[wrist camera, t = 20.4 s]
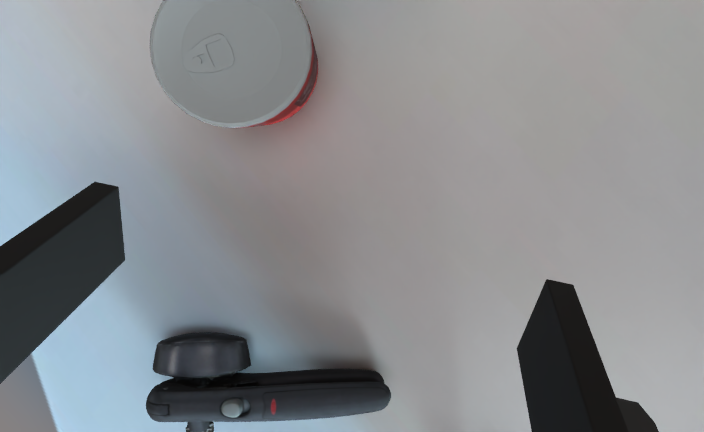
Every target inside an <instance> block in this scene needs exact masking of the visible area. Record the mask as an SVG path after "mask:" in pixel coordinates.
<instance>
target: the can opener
mask: <svg viewBox="0 0 704 432" xmlns="http://www.w3.org/2000/svg"><path fill="white" fill-rule="evenodd" d="M249 366H251V362H250V357H249V350H248V345H247V341H246V339H244V338H242V337H239V336H235V335H229V334H223V333H211V332H204V333H191V334H185V335H180V336H175V337H171V338H168V339H165V340H162V341H160V342H159V343H158V344H157V348H156V352H155V358H154V363H153V370H154V372H156V373H159V374H162V375H166V376H171V377H174V378H173V379H170V380H167V381H164V382H162V383H161V384H159V385H156V386H155V387H154V388H153V389H152V390H151V392H150V393H149V395H148V397H147V402H146V409H147V413H148V414H149V416H150V417H151V418H152V419H153V420H155V421H158V422H188V425H187V427H186V432H213V431H214V423H213V421H222V422H223V421H224V422H239V421H240V422H243V421H244V422H251V421H285V420H302V419H304V420H305V419H318V418H330V417H340V416H349V415H355V414H363V413H369V412H375V411H379V410H382V409H384V408H385V407H386V406H387V405H388V403H389V401H390V398H391V393H390V390H389V388H388V386H386V385H385V384H384V380H383V378H382V376H381V375H380V374H379V373H378V372H376V371H372V370H361V369H318V370H302V371H288V372H274V373H253V374H250V373H236V372H237V371H242V370H243V369H246V368H248V367H249Z"/></svg>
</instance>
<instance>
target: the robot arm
mask: <svg viewBox="0 0 704 432" xmlns="http://www.w3.org/2000/svg"><path fill="white" fill-rule="evenodd" d="M124 261H125V253H124V242H123V231H122V221H121V210H120V199H119V188H118V187H117V186H112V185H107V184H103V183H98V182H94V183H92V184H91V185H89V186H88V187H87V188H85V189H84V190H82V191H81V192H79V193H78V194H76V195H75V196H73V197H72V198H70V199H69V200H67V201H66V202H65V203H63V204H62V205H60V206H59V207H57V208H56V209H54V210H53V211H51V212H50V213H48V214H47V215H46V216H44V217H43V218H41V219H40V220H38V221H37V222H35V223H34V224H32V225H31V226H29V227H28V228H26V229H25V230H24V231H22V232H21V233H19V234H18V235H16V236H15V237H13V238H12V239H10V240H9V241H7V242H6V243H5V244H3V245H2V246H0V384H1V383H2V382H3V381H4V380H5V379H6V377H7V376H9V375H10V374H11V373H12V372H13V371H14V370H15V369H16V368H17V367H18V366H19V365H20V364H21V363H22V362H23V361H24V360H25V359H26V358H27V357H28V356H29V355H30V354H31V353H32V352H33V351H34V350H35V349H36V348H37V347H38V346H39V345H40V344H41V343H42V342H43V341H44V340H45V339H46V338H47V337H48V336H49V335H50V334H51V333H52V332H53V331H54V330H55V329H56V328H57V327H58V326H59V325H60V324H61V323H62V322H63V321H64V320H65V319H66V318H67V317H68V316H69V315H70V314H71V313H72V312H73V311H74V310H75V309H76V308H77V307H78V306H79V305H80V304H81V303H82V302H83V301H84V300H85V299H86V298H87V297H88V296H89V295H90V294H91V293H92V292H93V291H94V290H95V289H96V288H97V287H98V286H99V285H100V284H101V283H102V282H103V281H104V280H105V279H106V278H107V277H108V276H109V275H110V274H111V273H112V272H113V271H114V270H115V269H116V268H117V267H118V266H119V265H120V264H121V263H122V262H124ZM517 351H518V357H519V363H520V368H521V374H522V379H523V385H524V390H525V396H526V401H527V407H528V413H529V418H530V424H531V429H532V432H659V431H658V429H657V427H656V425H655V423H654V421H653V420H652V419H651V418H650V417H649V415H648V414H647V413H646V412H645V411H644V409H643V408H642V407H641V406H640V405H639V403H637V402H633V401H628V400H624V399H620V398H616V397H615V394H614V392H613V389H612V386H611V384H610V381H609V378H608V376H607V373H606V371H605V368H604V365H603V363H602V360H601V357H600V355H599V352H598V349H597V347H596V344H595V341H594V339H593V336H592V333H591V331H590V328H589V326H588V323H587V320H586V318H585V315H584V312H583V310H582V307H581V304H580V302H579V299H578V296H577V294H576V291H575V289H574V286H573V285H571V284H567V283H562V282H557V281H553V280H548V279H546V282H545V284H544V286H543V289H542V291H541V293H540V296H539V298H538V300H537V303H536V305H535V307H534V310H533V312H532V314H531V317H530V319H529V321H528V324H527V326H526V328H525V331H524V333H523V335H522V338H521V340H520V342H519V345H518V347H517Z"/></svg>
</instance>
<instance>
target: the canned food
mask: <svg viewBox="0 0 704 432" xmlns="http://www.w3.org/2000/svg"><path fill="white" fill-rule="evenodd" d="M150 53H151V61H152V65H153V68H154V71H155V74H156V77H157V79H158V81H159V83H160V85H161V86H162V88H163V90H164V92H165V93H166V94H167V95H168V96H169V98H170V99H171V100H172V101H173V102H174V104H176V105H177V106H178V107H179V108H181V109H182V110H183V111H184V112H186V113H187V114H189V115H191V116H193V117H194V118H196V119H198V120H200V121H202V122H205V123H208V124H212V125H215V126H219V127H228V128H243V127H254V126H262V125H270V124H274V123H277V122H281V121H283V120H285V119H287V118H289V117H291V116H292V115H294V114H295V113H296V112H298V111H299V110H300V109H301V108H302V107H303V106H304V105H305V103H306V102H307V101H308V99H309V98H310V96H311V94H312V92H313V90H314V87H315V84H316V81H317V74H318V60H317V55H316V51H315V47H314V43H313V39H312V35H311V32H310V28H309V24H308V22H307V20H306V18H305V16H304V14H303V11H302V9H301V7H300V6H299V5H298V3H297V2H296V1H295V0H163V2H162V3H161V5H160V7H159V9H158V11H157V13H156V15H155V18H154V22H153V25H152V29H151V36H150Z"/></svg>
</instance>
